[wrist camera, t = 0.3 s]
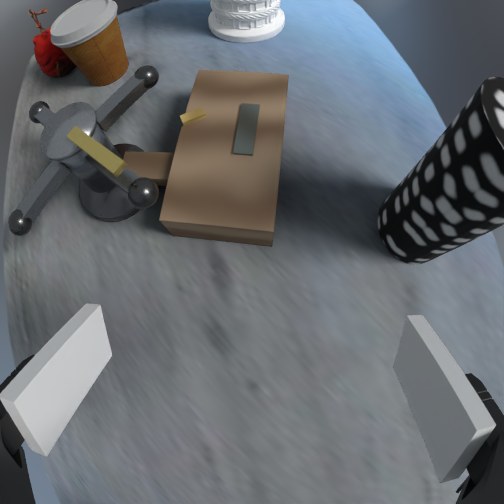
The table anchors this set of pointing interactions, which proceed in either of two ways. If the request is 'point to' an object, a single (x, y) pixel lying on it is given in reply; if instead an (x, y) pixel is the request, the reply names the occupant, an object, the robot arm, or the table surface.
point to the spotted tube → (451, 185)
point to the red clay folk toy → (49, 52)
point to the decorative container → (246, 20)
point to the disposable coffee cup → (92, 40)
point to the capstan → (89, 158)
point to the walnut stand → (223, 159)
